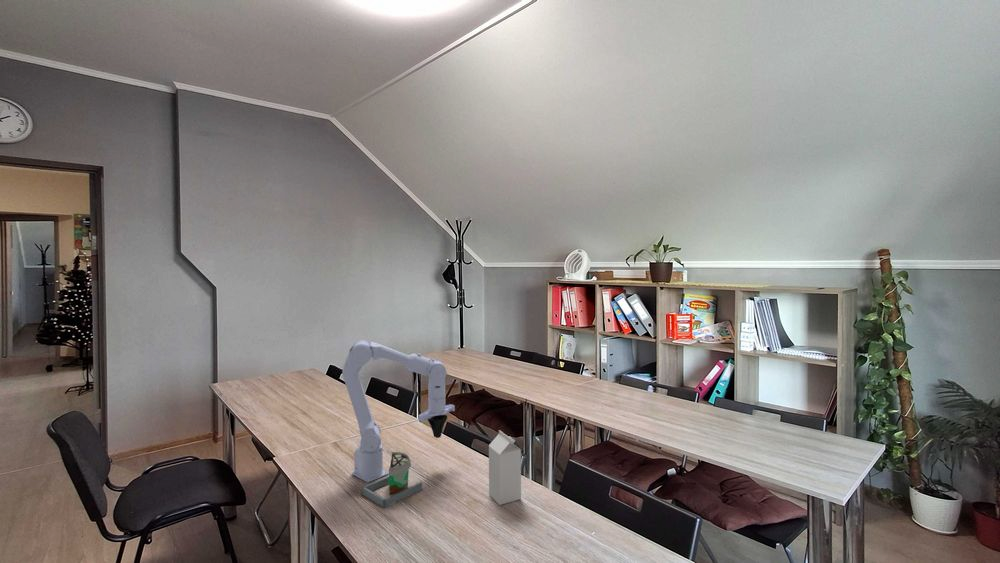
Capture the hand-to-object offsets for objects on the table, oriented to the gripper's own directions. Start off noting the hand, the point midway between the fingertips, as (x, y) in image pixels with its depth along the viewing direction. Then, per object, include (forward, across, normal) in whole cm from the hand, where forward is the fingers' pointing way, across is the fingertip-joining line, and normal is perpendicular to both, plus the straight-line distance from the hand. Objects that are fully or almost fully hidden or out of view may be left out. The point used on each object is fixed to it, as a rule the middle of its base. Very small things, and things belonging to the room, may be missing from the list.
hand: (437, 436), depth 154 cm
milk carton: (+11, 0, -30) cm, 32 cm away
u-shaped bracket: (+10, -20, -2) cm, 23 cm away
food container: (+11, -18, -4) cm, 21 cm away
